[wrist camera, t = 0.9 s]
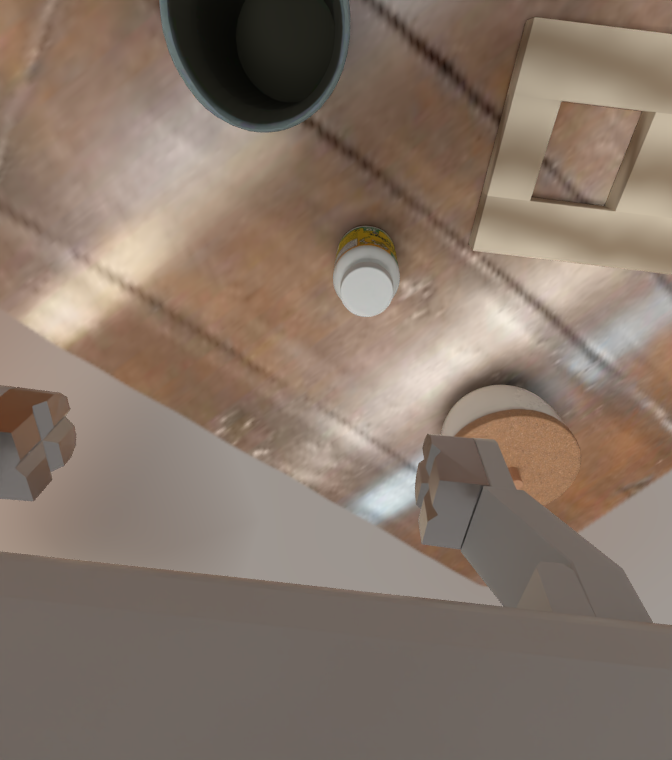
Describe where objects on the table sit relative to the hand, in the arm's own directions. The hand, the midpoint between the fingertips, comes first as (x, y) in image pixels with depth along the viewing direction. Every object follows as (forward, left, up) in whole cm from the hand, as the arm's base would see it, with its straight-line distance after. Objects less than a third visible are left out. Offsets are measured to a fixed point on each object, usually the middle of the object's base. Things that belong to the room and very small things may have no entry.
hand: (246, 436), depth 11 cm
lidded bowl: (+22, +19, -34) cm, 45 cm away
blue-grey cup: (-9, -5, -34) cm, 36 cm away
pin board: (-4, +25, -34) cm, 43 cm away
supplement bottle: (+6, +3, -34) cm, 35 cm away
